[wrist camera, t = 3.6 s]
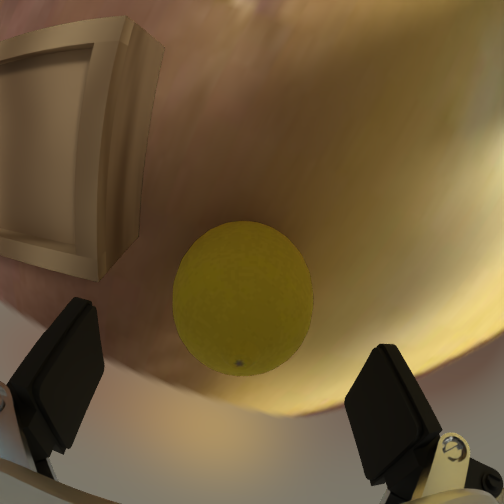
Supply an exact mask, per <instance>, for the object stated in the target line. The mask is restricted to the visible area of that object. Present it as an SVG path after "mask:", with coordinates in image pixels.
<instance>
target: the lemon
mask: <svg viewBox="0 0 504 504" xmlns="http://www.w3.org/2000/svg"><path fill="white" fill-rule="evenodd" d="M312 310H313V290H312V282H311V276H310V272H309V270H308V268H307V266H306V263H305V261H304V259H303V257H302V255H301V253H300V252H299V250H298V249H297V248H296V247H295V246H294V245H293V243H292V242H291V241H290V240H289V239H288V238H287V237H286V236H284V235H283V234H281V233H280V232H278V231H277V230H276V229H274V228H272V227H270V226H267V225H264V224H261V223H258V222H251V221H235V222H229V223H225V224H222V225H220V226H217V227H215V228H213V229H210V230H209V231H208V232H206V233H205V234H204V235H202V236H201V237H200V238H199V239H197V240H196V241H195V242H194V243H193V245H192V246H191V247H190V249H189V250H188V251H187V253H186V254H185V255H184V257H183V259H182V260H181V263H180V266H179V268H178V271H177V274H176V277H175V280H174V284H173V317H174V321H175V324H176V328H177V331H178V334H179V337H180V338H181V340H182V341H183V343H184V345H185V346H186V348H187V349H188V351H189V352H190V353H191V354H192V355H193V356H194V357H195V358H196V359H197V360H199V361H200V362H201V363H202V364H204V365H206V366H207V367H209V368H211V369H213V370H215V371H218V372H221V373H224V374H228V375H234V376H252V375H257V374H262V373H265V372H268V371H270V370H273V369H275V368H276V367H278V366H279V365H281V364H282V363H284V362H285V361H287V360H288V359H289V358H290V357H291V356H292V355H293V354H294V353H295V352H296V351H297V350H298V348H299V347H300V346H301V344H302V342H303V340H304V338H305V336H306V334H307V332H308V329H309V326H310V321H311V316H312Z"/></svg>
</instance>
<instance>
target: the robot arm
mask: <svg viewBox="0 0 504 504" xmlns="http://www.w3.org/2000/svg"><path fill="white" fill-rule="evenodd" d="M103 372H104V359H103V354H102V347H101V341H100V334H99V326H98V318H97V310H96V307H95V306H92V302H91V301H89V300H85V299H81V298H78V297H74V298H73V299H72V300H71V301H70V303H69V304H68V305H67V306H66V307H65V309H64V310H63V311H62V312H61V313H60V315H59V316H58V317H57V318H56V320H55V321H54V322H53V323H52V325H51V326H50V327H49V328H48V330H46V331H45V332H44V333H43V335H42V336H41V337H40V339H39V340H38V341H37V343H36V344H35V345H34V347H33V348H32V349H31V351H30V352H29V353H28V355H27V356H26V357H25V359H24V360H23V362H22V363H21V364H20V366H19V367H18V369H17V370H16V372H15V373H14V374H13V376H12V377H11V379H10V380H9V382H8V383H7V385H5V384H4V383H2V382H1V381H0V504H120V503H117V502H113V501H110V500H107V499H104V498H101V497H98V496H94V495H91V494H88V493H86V492H83V491H80V490H78V489H75V488H72V487H70V486H67V485H65V484H62V483H60V482H59V481H58V479H57V477H56V474H55V472H54V470H53V467H52V465H51V462H50V459H49V457H50V454H51V452H52V450H54V451H56V452H59V453H61V454H63V455H64V452H65V450H66V448H68V449H69V448H71V446H72V444H73V442H74V439H75V437H76V434H77V432H78V429H79V427H80V424H81V422H82V420H83V417H84V415H85V413H86V410H87V408H88V406H89V404H90V401H91V399H92V397H93V395H94V392H95V390H96V388H97V386H98V384H99V381H100V379H101V377H102V375H103ZM344 405H345V408H346V412H347V415H348V418H349V421H350V425H351V428H352V431H353V434H354V438H355V441H356V445H357V448H358V451H359V455H360V459H361V462H362V466H363V469H364V473H365V476H366V478H367V479H368V480H370V483H371V486H374V485H379V484H384V483H385V482H386V484H387V489H386V491H385V493H384V495H383V497H382V499H381V501H380V503H379V504H504V488H503V480H502V477H501V476H500V474H499V473H498V472H497V471H496V470H494V469H493V468H491V467H488V466H486V465H484V464H482V463H480V462H478V461H476V460H474V459H472V458H470V448H469V445H468V443H467V442H466V440H465V439H464V438H463V437H461V436H460V435H458V434H455V433H446V434H444V435H443V436H442V437H440V435H439V433H440V432H441V431H442V428H441V426H440V424H439V422H438V420H437V418H436V416H435V414H434V412H433V410H432V409H431V407H430V405H429V403H428V401H427V399H426V398H425V395H424V394H423V392H422V390H421V388H420V386H419V384H418V383H417V381H416V379H415V377H414V376H413V374H412V372H411V370H410V369H409V367H408V365H407V363H406V362H405V360H404V358H403V356H402V355H401V353H400V351H399V350H398V348H397V347H396V345H394V344H379V345H378V346H377V347H376V348H374V349H373V350H372V352H371V353H370V355H369V357H368V359H367V361H366V363H365V364H364V366H363V368H362V370H361V372H360V373H359V375H358V377H357V379H356V380H355V382H354V384H353V385H352V387H351V389H350V390H349V392H348V394H347V395H346V397H345V401H344Z"/></svg>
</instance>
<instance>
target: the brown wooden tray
mask: <svg viewBox="0 0 504 504" xmlns="http://www.w3.org/2000/svg"><path fill="white" fill-rule="evenodd" d="M164 50H165V47H164V46H163V45H162V44H161V43H160V42H158V41H157V40H156V39H155V38H154V37H152V36H151V35H150V34H149V33H148V32H146V31H145V30H144V29H143V28H141V27H140V26H139V25H138V24H136V23H135V22H134V21H133V20H131V19H130V18H129V17H128V16H115V17H105V18H97V19H90V20H83V21H77V22H72V23H66V24H61V25H57V26H52V27H48V28H44V29H40V30H36V31H32V32H29V33H25V34H22V35H19V36H15V37H12V38H9V39H6V40H3V41H0V255H1V256H4V257H7V258H10V259H14V260H17V261H20V262H24V263H27V264H31V265H34V266H38V267H41V268H45V269H49V270H52V271H56V272H60V273H64V274H67V275H71V276H75V277H79V278H83V279H87V280H91V281H95V282H99V281H100V280H101V279H102V278H103V276H104V275H105V274H106V273H107V272H108V271H109V269H110V268H111V267H112V266H113V265H114V264H115V262H116V261H117V260H118V259H119V258H120V257H121V255H122V254H123V253H124V252H125V251H126V250H127V249H128V248H129V246H130V245H131V244H132V243H133V242H134V241H135V240H136V239H137V238H138V237H139V219H140V204H141V192H142V182H143V172H144V163H145V155H146V147H147V139H148V133H149V126H150V120H151V113H152V108H153V102H154V97H155V91H156V86H157V81H158V76H159V72H160V67H161V63H162V58H163V54H164Z"/></svg>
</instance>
